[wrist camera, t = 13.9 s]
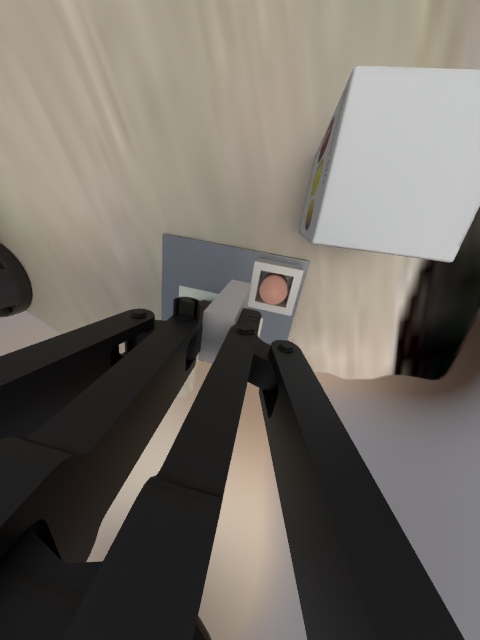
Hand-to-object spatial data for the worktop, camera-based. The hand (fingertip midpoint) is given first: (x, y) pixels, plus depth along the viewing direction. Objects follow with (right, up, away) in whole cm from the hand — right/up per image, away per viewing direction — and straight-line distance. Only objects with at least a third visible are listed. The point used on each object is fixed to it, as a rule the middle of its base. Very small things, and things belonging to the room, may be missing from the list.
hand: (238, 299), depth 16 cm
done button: (+5, +4, +16) cm, 17 cm away
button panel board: (-2, +2, +19) cm, 20 cm away
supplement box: (+13, +14, +12) cm, 22 cm away
